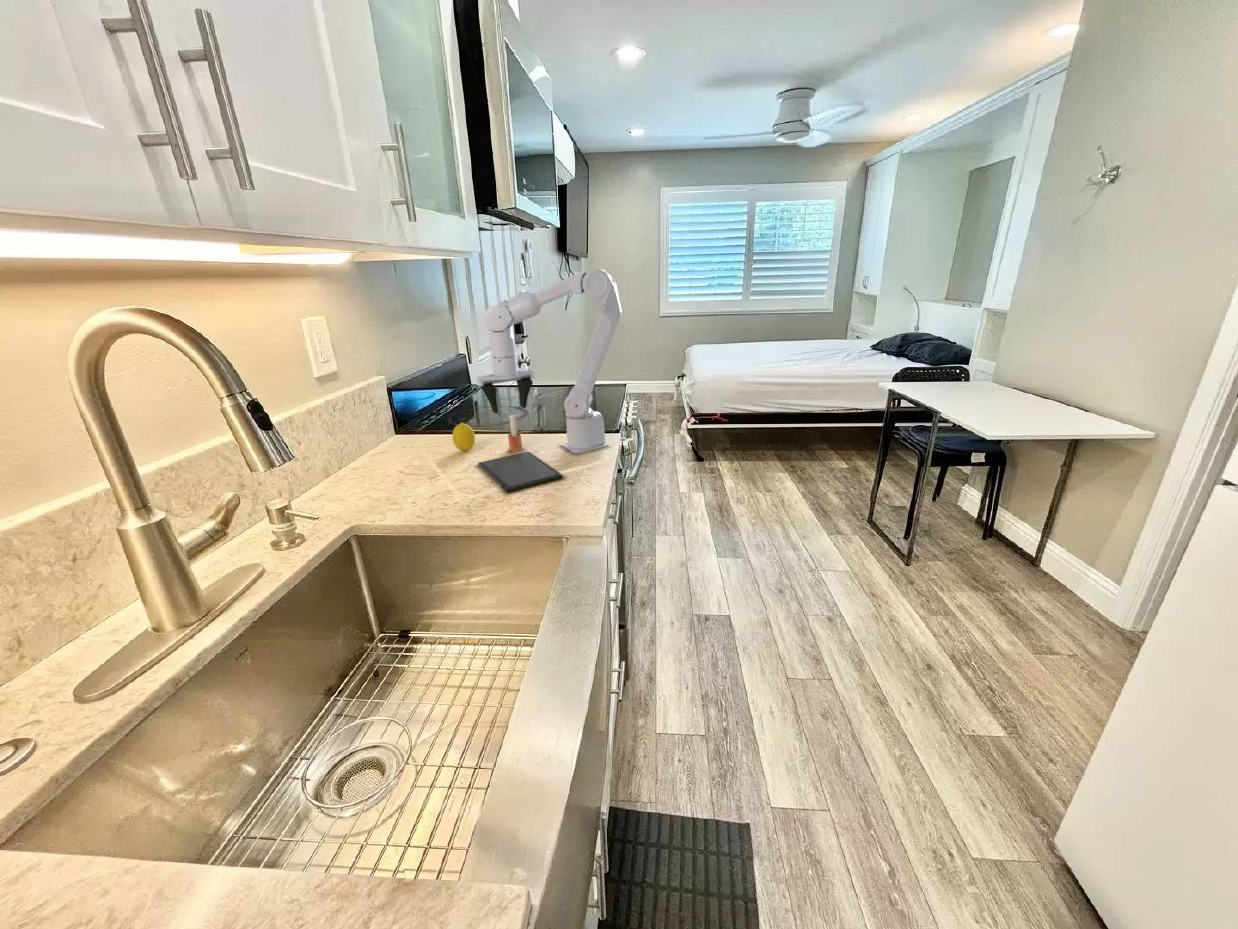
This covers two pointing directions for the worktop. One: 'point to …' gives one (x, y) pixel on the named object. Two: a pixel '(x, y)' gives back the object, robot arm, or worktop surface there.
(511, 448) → the holder
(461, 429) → the lemon
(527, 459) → the tablet
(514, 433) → the stylus
